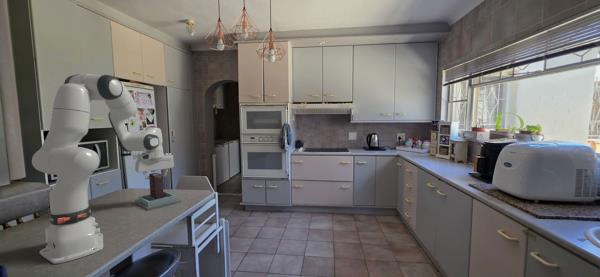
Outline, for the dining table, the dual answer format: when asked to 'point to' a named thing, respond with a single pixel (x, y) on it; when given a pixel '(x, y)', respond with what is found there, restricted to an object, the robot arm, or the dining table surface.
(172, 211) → the dining table surface
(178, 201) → the tray
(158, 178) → the supplement box
